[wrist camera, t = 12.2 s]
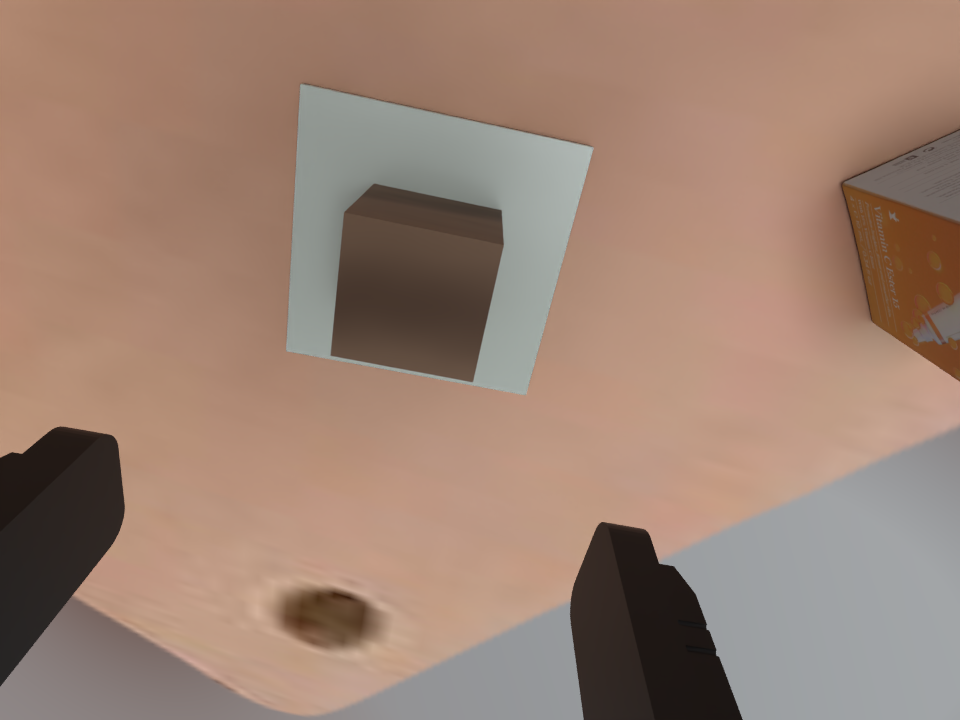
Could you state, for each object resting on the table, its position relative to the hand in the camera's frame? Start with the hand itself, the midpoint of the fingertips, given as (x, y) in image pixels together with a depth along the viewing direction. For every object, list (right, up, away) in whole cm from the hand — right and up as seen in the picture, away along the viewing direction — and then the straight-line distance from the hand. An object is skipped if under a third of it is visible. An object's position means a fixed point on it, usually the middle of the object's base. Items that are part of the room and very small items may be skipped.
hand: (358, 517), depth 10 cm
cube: (0, +8, +18) cm, 20 cm away
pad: (-1, +8, +19) cm, 20 cm away
